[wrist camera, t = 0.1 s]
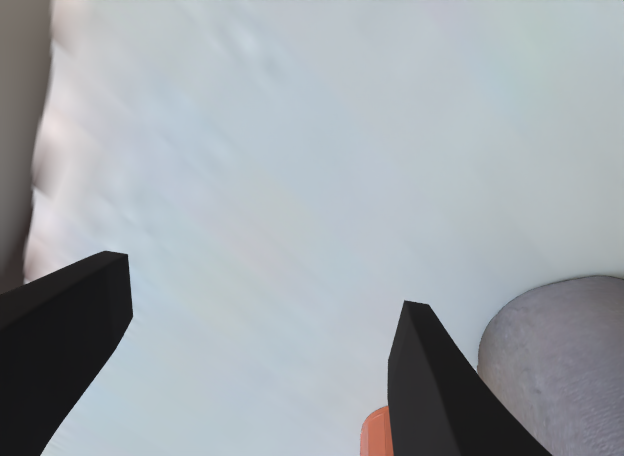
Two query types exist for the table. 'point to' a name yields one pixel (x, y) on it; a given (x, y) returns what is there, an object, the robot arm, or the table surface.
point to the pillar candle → (562, 364)
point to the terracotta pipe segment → (377, 434)
